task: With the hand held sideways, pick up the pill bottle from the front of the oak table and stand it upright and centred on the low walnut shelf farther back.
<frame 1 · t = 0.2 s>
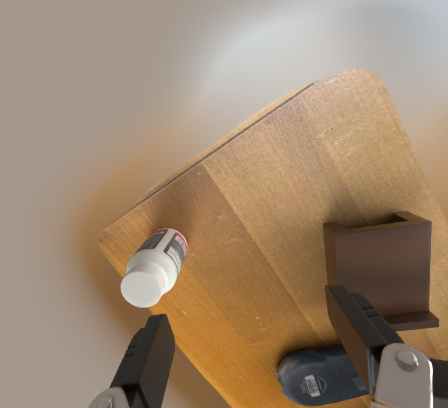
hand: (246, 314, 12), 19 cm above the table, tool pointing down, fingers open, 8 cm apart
electronic device: (326, 362, 36), on the table
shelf: (365, 261, 32), on the table
pill bottle: (169, 245, 33), on the table
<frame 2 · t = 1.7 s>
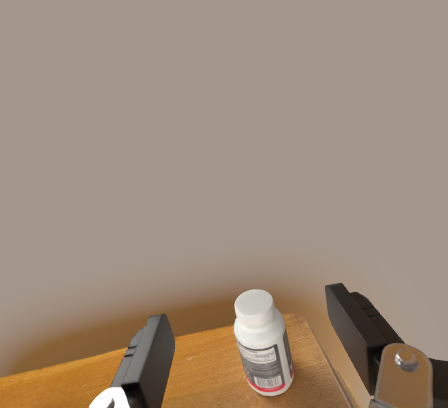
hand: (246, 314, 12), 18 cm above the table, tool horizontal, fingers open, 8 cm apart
pill bottle: (270, 374, 28), on the table
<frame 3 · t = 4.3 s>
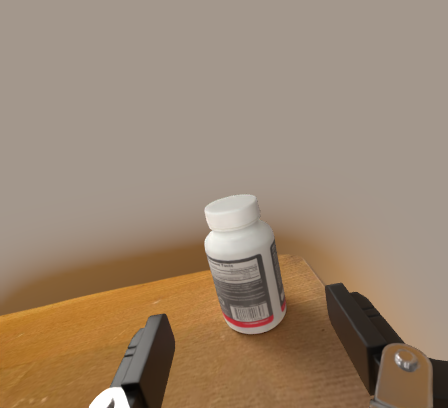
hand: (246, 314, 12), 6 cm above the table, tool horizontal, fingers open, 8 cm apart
pill bottle: (255, 313, 21), on the table
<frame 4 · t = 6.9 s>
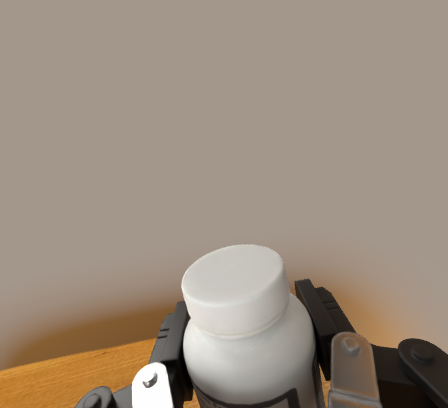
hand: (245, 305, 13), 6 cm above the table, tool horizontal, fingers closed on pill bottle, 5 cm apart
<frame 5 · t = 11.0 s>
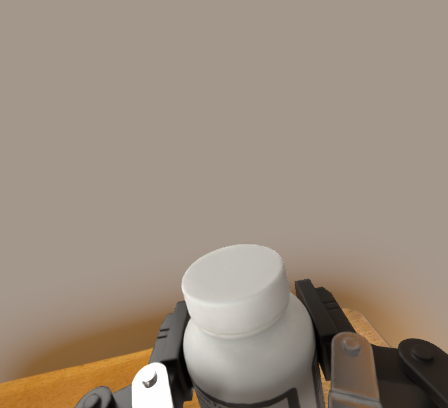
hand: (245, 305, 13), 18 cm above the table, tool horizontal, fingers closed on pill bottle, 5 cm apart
when the fingers open (10 cm above the table, at t = 15.1 s): pill bottle stays where it is, resting on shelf.
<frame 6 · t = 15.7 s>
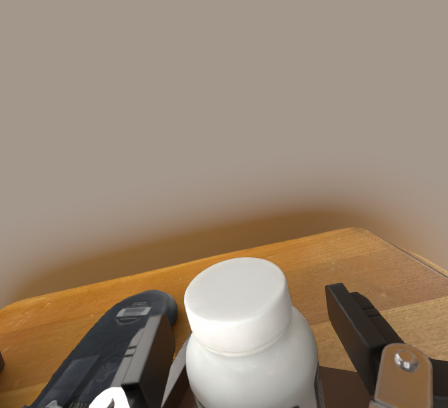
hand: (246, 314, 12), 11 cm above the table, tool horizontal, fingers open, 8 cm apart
electronic device: (126, 356, 25), on the table
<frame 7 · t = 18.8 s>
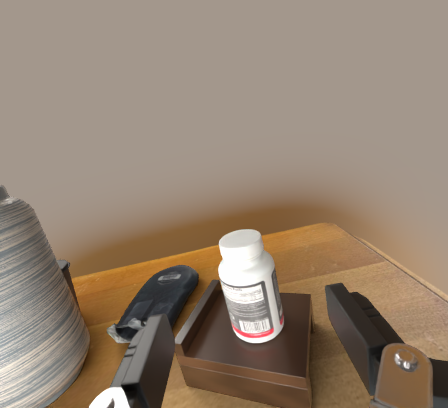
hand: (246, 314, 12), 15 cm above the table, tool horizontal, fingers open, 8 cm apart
electronic device: (166, 305, 39), on the table
vase: (46, 381, 29), on the table
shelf: (255, 351, 27), on the table
pill bottle: (258, 325, 25), point 4 cm above the table, touching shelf
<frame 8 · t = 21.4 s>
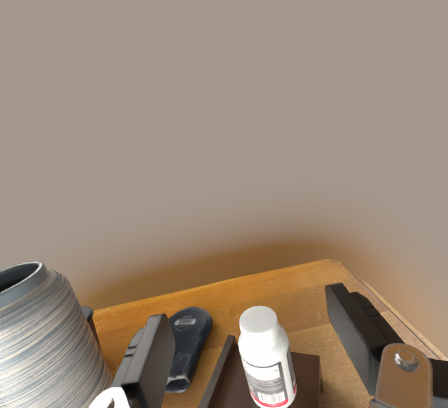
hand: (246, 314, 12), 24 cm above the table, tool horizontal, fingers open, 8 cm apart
electronic device: (183, 349, 41), on the table
pill bottle: (273, 389, 28), point 4 cm above the table, touching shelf
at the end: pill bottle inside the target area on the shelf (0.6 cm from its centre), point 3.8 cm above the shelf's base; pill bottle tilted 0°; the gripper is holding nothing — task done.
